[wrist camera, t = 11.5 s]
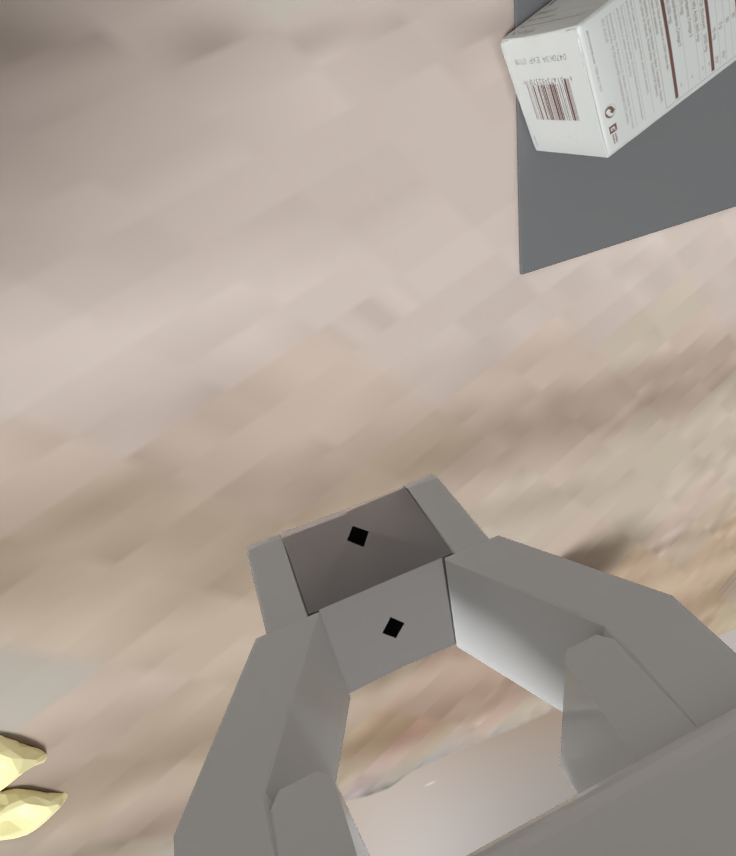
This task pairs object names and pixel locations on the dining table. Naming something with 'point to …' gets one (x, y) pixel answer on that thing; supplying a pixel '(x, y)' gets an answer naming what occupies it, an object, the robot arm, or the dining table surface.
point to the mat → (627, 176)
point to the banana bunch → (22, 791)
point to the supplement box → (613, 66)
